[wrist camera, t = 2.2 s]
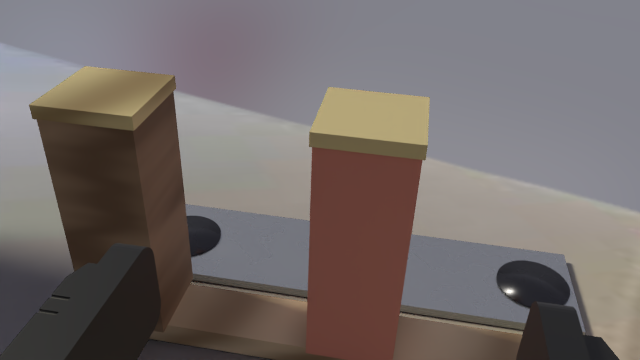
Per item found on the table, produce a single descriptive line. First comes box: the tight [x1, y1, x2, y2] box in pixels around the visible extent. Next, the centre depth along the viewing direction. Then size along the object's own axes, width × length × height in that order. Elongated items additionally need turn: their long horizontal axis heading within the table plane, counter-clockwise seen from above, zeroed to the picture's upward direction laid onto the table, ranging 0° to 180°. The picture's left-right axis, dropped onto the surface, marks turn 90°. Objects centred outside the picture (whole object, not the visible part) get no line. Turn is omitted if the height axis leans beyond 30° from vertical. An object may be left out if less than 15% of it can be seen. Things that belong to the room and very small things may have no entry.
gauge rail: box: [29, 66, 522, 360], centre depth 26 cm, size 25×4×13 cm, turn 80°
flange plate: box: [185, 204, 586, 335], centre depth 34 cm, size 25×6×1 cm, turn 80°
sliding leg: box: [306, 87, 430, 360], centre depth 25 cm, size 4×4×12 cm
